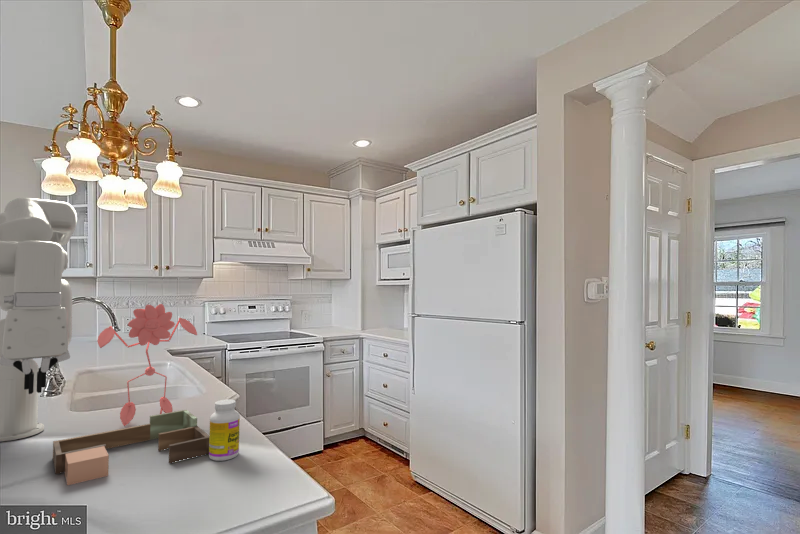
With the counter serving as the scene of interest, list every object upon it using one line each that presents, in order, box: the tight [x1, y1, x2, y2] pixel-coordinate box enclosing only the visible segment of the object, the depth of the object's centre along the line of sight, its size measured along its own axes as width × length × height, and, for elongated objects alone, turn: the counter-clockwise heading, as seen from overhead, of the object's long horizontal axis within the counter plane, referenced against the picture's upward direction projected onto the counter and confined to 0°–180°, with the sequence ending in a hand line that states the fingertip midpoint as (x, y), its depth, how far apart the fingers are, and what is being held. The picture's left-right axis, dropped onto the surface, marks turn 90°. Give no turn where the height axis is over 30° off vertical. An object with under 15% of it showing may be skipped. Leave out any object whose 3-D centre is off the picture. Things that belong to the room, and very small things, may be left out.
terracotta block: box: [64, 446, 110, 486], centre depth 94 cm, size 7×7×4 cm
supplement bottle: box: [208, 398, 241, 462], centre depth 104 cm, size 7×7×13 cm
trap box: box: [52, 409, 210, 475], centre depth 104 cm, size 21×29×6 cm
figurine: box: [96, 303, 198, 427], centre depth 129 cm, size 15×26×35 cm, turn 133°
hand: (34, 391), depth 89 cm, fingers closed
